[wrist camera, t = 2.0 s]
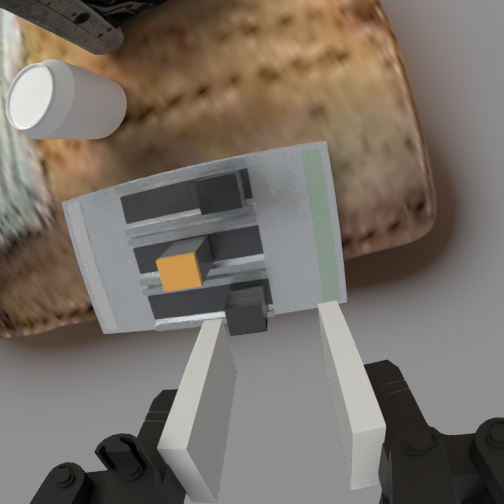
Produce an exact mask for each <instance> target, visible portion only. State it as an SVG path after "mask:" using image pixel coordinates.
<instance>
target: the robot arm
mask: <svg viewBox="0 0 504 504" xmlns="http://www.w3.org/2000/svg"><path fill="white" fill-rule="evenodd" d="M318 312H319V321H320V329H321V339H322V349H323V359H324V364H325V368H326V373H327V377H328V381H329V386H330V391H331V395H332V399H333V404H334V409H335V414H336V418H337V423H338V428H339V432H340V438H341V442H342V448H343V452H344V458H345V463H346V468H347V473H348V479H349V484H350V490H355V489H360V488H364V487H368V486H373V485H377V484H378V478H379V479H380V483H381V487H382V493H381V498H380V502H379V504H504V418H492V419H489V420H487V421H485V422H484V423H483V424H481V425H480V426H479V428H478V429H477V431H476V433H473V434H463V435H445V434H441V433H440V432H439V431H438V430H436V429H435V428H434V427H430V426H429V425H428V424H427V423H426V421H425V419H424V417H423V415H422V413H421V411H420V409H419V407H418V405H417V403H416V401H415V399H414V397H413V395H412V393H411V391H410V389H409V387H408V385H407V383H406V381H404V377H403V375H402V374H401V371H400V370H399V368H398V367H397V366H395V365H394V364H393V363H391V362H390V361H388V360H383V361H379V362H375V363H371V364H365V365H363V363H362V360H361V358H360V356H359V353H358V351H357V348H356V345H355V343H354V341H353V338H352V336H351V333H350V331H349V328H348V326H347V324H346V321H345V319H344V316H343V314H342V312H341V309H340V307H339V305H338V302H337V300H336V301H331V302H325V303H320V304H318ZM236 375H237V371H236V367H235V364H234V361H233V357H232V353H231V349H230V346H229V342H228V338H227V335H226V331H225V327H224V323H223V319H222V318H221V319H214V320H206V321H204V322H203V324H202V327H201V330H200V332H199V335H198V338H197V340H196V343H195V345H194V348H193V351H192V354H191V356H190V359H189V362H188V364H187V367H186V370H185V372H184V375H183V378H182V381H181V383H180V386H179V388H178V389H176V390H163V391H162V392H161V393H160V394H159V395H158V396H157V397H156V398H155V399H154V400H153V402H152V404H151V407H150V409H149V413H147V416H146V418H145V422H144V423H143V425H142V427H141V430H140V432H139V434H138V437H135V436H133V435H131V434H122V433H121V434H116V435H112V436H110V437H108V438H106V439H104V440H103V441H102V442H101V443H100V444H99V445H98V446H97V448H96V450H95V453H96V455H97V456H98V458H99V459H100V460H101V462H102V463H103V464H104V465H105V467H106V468H107V469H108V470H105V471H97V472H88V473H85V471H84V470H83V469H82V468H81V467H80V466H79V465H77V464H75V463H69V462H67V463H63V464H60V465H58V466H56V467H54V468H53V469H52V471H51V472H50V473H49V474H48V476H47V477H46V479H45V480H44V482H43V483H42V485H41V487H40V488H39V490H38V491H37V493H36V494H35V496H34V498H33V499H32V501H31V502H30V504H184V499H185V495H186V494H187V495H188V496H189V498H190V499H191V501H194V502H217V500H218V493H219V487H220V480H221V474H222V467H223V461H224V454H225V447H226V440H227V434H228V428H229V421H230V414H231V407H232V401H233V395H234V388H235V381H236Z"/></svg>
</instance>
